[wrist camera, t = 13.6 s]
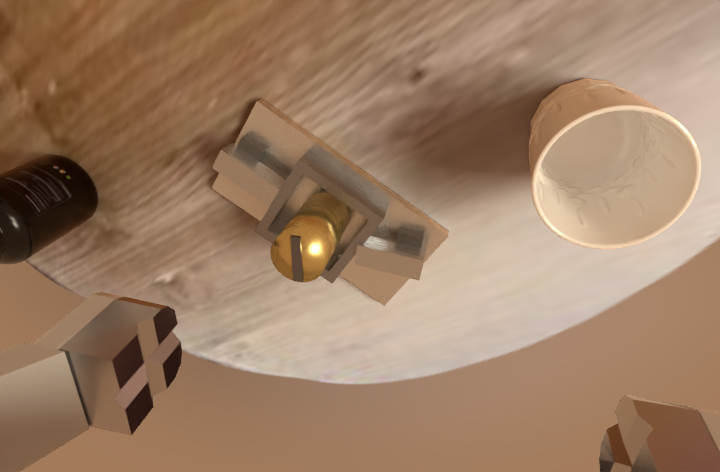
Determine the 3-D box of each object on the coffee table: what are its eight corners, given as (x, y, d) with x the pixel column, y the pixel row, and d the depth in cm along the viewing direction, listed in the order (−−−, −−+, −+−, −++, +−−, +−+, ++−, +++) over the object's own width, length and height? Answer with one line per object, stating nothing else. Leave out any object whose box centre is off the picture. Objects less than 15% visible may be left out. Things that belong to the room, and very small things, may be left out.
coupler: (301, 190, 40) (267, 231, 34) (349, 195, 39) (323, 238, 33) (303, 233, 42) (271, 280, 35) (349, 239, 41) (324, 287, 35)
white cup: (565, 202, 36) (590, 274, 28) (497, 124, 35) (500, 175, 26) (669, 132, 33) (735, 190, 24) (597, 41, 31) (640, 69, 23)
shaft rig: (217, 183, 42) (194, 201, 39) (261, 98, 38) (240, 110, 35) (386, 299, 44) (378, 325, 41) (448, 230, 40) (445, 254, 36)
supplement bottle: (87, 232, 49) (-20, 304, 38) (27, 188, 48) (-99, 249, 37) (112, 186, 45) (1, 250, 35) (48, 137, 44) (-85, 189, 34)
